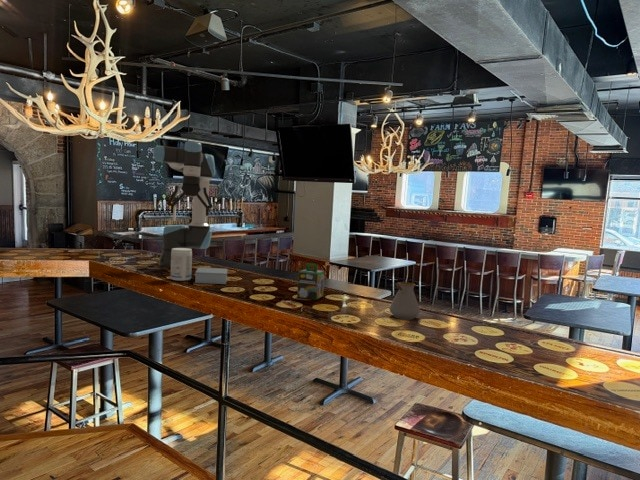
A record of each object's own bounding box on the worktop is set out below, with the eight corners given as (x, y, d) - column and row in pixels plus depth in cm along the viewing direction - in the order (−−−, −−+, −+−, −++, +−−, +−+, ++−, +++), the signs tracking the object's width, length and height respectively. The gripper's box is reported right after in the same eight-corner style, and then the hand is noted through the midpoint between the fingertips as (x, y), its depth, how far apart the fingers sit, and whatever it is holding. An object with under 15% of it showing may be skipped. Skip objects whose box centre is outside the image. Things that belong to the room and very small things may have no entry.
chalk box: (323, 296, 193) (325, 263, 192) (316, 300, 184) (319, 265, 183) (303, 293, 196) (306, 261, 195) (296, 297, 187) (298, 263, 186)
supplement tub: (186, 277, 217) (187, 247, 216) (194, 280, 209) (195, 250, 208) (166, 278, 210) (168, 247, 209) (174, 281, 203) (175, 250, 202)
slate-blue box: (197, 277, 218) (198, 267, 218) (226, 278, 221) (227, 268, 220) (194, 282, 203) (195, 272, 203) (226, 284, 206) (226, 273, 206)
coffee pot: (393, 311, 173) (397, 274, 172) (422, 316, 168) (426, 278, 167) (375, 322, 154) (378, 280, 153) (407, 328, 149) (411, 285, 148)
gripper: (161, 173, 196) (159, 220, 197) (219, 177, 200) (216, 223, 202) (164, 174, 203) (162, 219, 205) (219, 178, 208) (217, 223, 209)
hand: (189, 221), depth 203 cm, fingers open, 13 cm apart
